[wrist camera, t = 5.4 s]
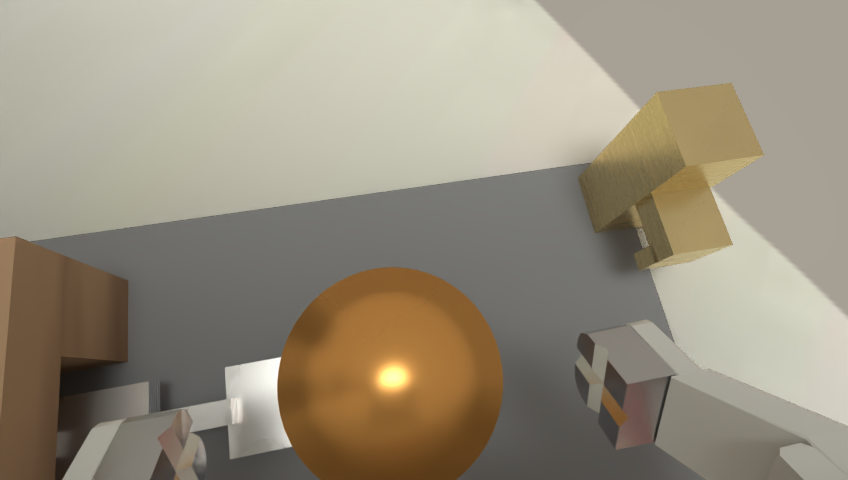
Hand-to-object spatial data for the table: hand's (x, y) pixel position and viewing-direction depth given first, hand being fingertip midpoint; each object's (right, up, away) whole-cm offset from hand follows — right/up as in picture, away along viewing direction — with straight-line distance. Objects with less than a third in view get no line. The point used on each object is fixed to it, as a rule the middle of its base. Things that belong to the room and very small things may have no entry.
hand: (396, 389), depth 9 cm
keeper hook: (+8, +5, +9) cm, 13 cm away
